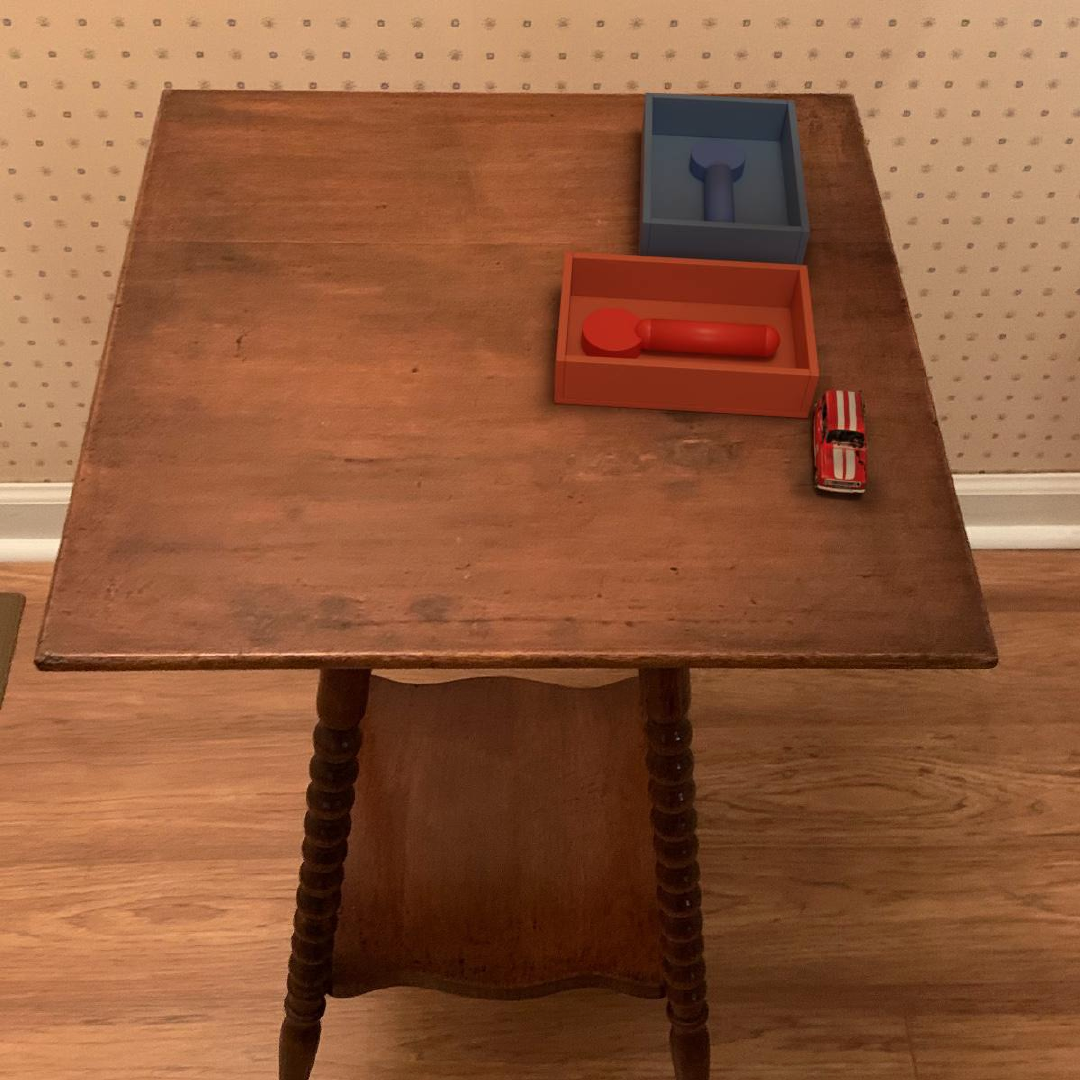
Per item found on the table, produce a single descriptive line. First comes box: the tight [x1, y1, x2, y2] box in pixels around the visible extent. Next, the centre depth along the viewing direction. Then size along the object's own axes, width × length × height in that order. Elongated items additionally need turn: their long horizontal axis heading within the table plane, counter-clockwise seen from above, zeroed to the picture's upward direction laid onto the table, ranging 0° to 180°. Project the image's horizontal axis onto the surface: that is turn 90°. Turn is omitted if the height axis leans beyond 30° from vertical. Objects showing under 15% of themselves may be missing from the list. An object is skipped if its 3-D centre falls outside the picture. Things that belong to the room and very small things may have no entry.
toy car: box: [812, 389, 869, 494], centre depth 77 cm, size 4×8×3 cm, turn 173°
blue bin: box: [638, 92, 811, 265], centre depth 94 cm, size 12×17×4 cm
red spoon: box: [581, 308, 780, 359], centre depth 83 cm, size 14×4×2 cm, turn 86°
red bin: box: [553, 251, 820, 419], centre depth 83 cm, size 17×11×4 cm, turn 86°
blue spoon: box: [689, 139, 746, 223], centre depth 93 cm, size 14×4×2 cm, turn 176°
